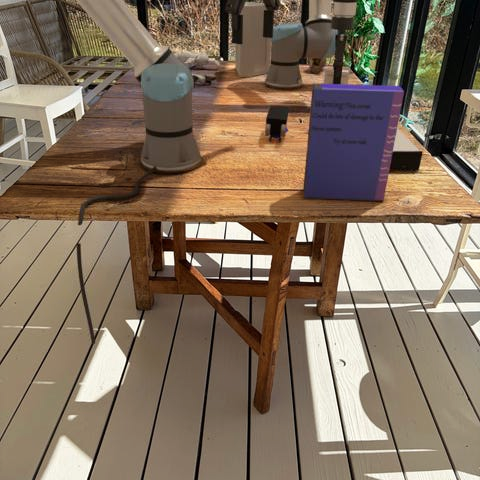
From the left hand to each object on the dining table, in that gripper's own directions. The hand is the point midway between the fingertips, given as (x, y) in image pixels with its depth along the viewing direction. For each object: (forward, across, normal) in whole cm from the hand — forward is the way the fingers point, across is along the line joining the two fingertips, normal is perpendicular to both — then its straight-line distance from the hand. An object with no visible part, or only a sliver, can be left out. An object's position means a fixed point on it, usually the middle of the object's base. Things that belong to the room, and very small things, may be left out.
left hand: (253, 40), depth 122 cm
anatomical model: (+28, -100, -33) cm, 109 cm away
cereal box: (+28, +14, +36) cm, 48 cm away
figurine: (+28, -40, -64) cm, 80 cm away
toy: (+28, -68, -83) cm, 111 cm away
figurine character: (+28, -10, +2) cm, 29 cm away
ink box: (+28, -54, -1) cm, 61 cm away
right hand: (+20, -54, -1) cm, 57 cm away
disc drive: (+28, -14, +31) cm, 44 cm away
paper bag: (+28, -79, -54) cm, 99 cm away
